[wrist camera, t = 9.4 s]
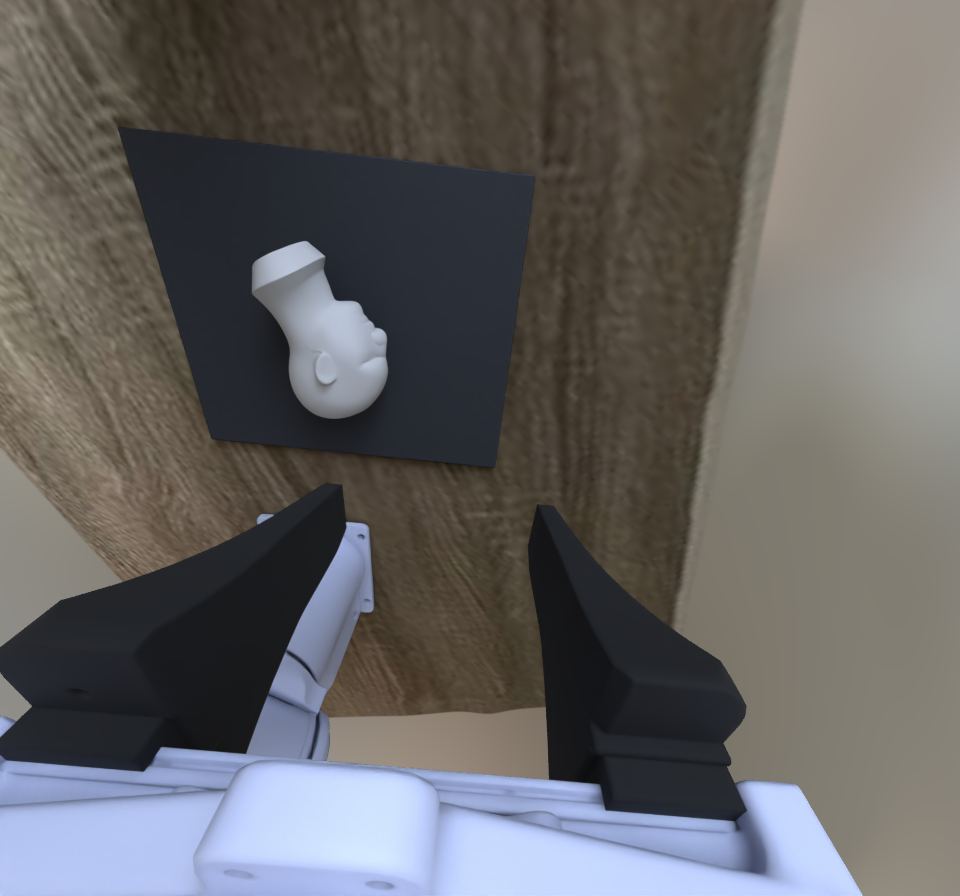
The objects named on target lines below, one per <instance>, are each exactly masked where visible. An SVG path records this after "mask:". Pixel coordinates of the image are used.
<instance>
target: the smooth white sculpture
mask: <svg viewBox="0 0 960 896" xmlns="http://www.w3.org/2000/svg"><path fill="white" fill-rule="evenodd" d="M325 258H326V257H325V256H324V255H323V254H322V253H321V252H319V251H318V250H317V249H316V248H315V247H313V246H312V245H311V244H310V243H309V242H307V241H303V242H298V243H295V244H292V245H289V246H286V247H284V248H281V249H279V250H276V251H274V252H271V253H269V254H267V255H265V256H263V257H261V258H260V259H258V260H257V261H255V262H254V264H253V266H252V294H253V295H254V296H255V297H256V298H257V299H258V300H259V301H260V302H261V303H262V304H263V305H264V306H265V307H266V308H267V309H268V310H269V311H270V312H271V313H272V315H273V316H274V317H275V319H276V320H277V322H278V323H279V325H280V326H281V328H282V330H283V332H284V334H285V336H286V338H287V340H288V343H289V347H290V359H289V377H290V382H291V385H292V388H293V391H294V393H295V395H296V396H297V398H298V400H299V401H300V402H301V403H302V404H303V406H304V407H306V408H307V409H308V410H309V411H310V412H312V413H314V414H316V415H318V416H320V417H324V418H330V419H339V418H345V417H349V416H352V415H355V414H357V413H360V412H362V411H364V410H365V409H367V408H368V407H369V406H370V405H371V404H372V403H373V402H374V401H375V400H376V399H377V398H378V396H379V395H380V393H381V392H382V390H383V388H384V386H385V383H386V380H387V376H388V365H387V360H386V347H387V336H386V333H385V332H384V331H383V330H382V329H379V328H375V327H374V324H373V323H372V322H371V321H369V320H368V318H367V317H366V316H365V315H364V313H363V310H362V307H361V306H360V304H359V303H357V302H355V301H336V300H335V299H334V297H333V294H332V291H331V289H330V286H329V283H328V281H327V278H326V276H325V273H324V264H325Z"/></svg>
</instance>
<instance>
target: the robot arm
mask: <svg viewBox="0 0 960 896" xmlns="http://www.w3.org/2000/svg"><path fill="white" fill-rule="evenodd" d="M257 524H258V525H256V526H254V527H253V528H251V529H249V530H247V531H245V532H244V533H242V534H240V535H238V536H236V537H234V538H232V539H230V540H228V541H226V542H224V543H222V544H219V545H217V546H215V547H213V548H211V549H209V550H206V551H204V552H202V553H199V554H197V555H194V556H192V557H190V558H187V559H185V560H182V561H180V562H178V563H175V564H173V565H170V566H167V567H165V568H162V569H159V570H157V571H154V572H151V573H148V574H145V575H142V576H139V577H137V578H134V579H131V580H128V581H125V582H121V583H119V584H115V585H112V586H109V587H105V588H102V589H98V590H95V591H92V592H88V593H85V594H81V595H78V596H75V597H71V598H67V599H64V600H60V601H59V602H58V603H57V604H55V605H54V606H53V607H51V608H50V609H49V610H48V611H46V612H45V613H44V614H42V615H41V616H40V617H39V618H37V619H36V620H35V621H33V622H32V623H31V624H30V625H28V626H27V627H26V628H24V629H23V630H22V631H21V632H19V633H18V634H17V635H15V636H14V637H13V638H12V639H11V640H9V641H8V642H6V643H5V644H4V645H3V646H1V647H0V673H1V674H2V675H3V677H4V678H5V679H6V680H7V681H8V682H9V683H10V684H11V685H12V686H13V687H14V688H15V689H16V690H17V691H18V692H19V693H20V694H21V695H22V696H23V697H24V698H25V699H26V700H27V701H28V702H29V703H30V704H31V705H32V707H31V708H30V709H29V710H28V711H27V712H26V713H25V714H24V715H23V716H22V717H21V718H20V719H19V720H18V721H17V722H16V721H15V720H13V719H10V718H7V717H4V716H0V896H863V895H862V893H861V892H860V890H859V888H858V887H857V885H856V883H855V881H854V880H853V878H852V876H851V875H850V873H849V872H848V870H847V868H846V866H845V865H844V863H843V861H842V859H841V858H840V856H839V854H838V853H837V851H836V849H835V848H834V846H833V844H832V843H831V841H830V839H829V837H828V836H827V834H826V832H825V830H824V829H823V827H822V825H821V824H820V822H819V820H818V819H817V817H816V815H815V813H814V812H813V810H812V809H811V807H810V805H809V804H808V802H807V800H806V798H805V797H804V795H803V793H802V792H801V790H800V788H799V787H798V786H796V785H795V784H792V783H781V782H769V781H757V780H744V781H740V782H737V783H734V781H733V779H732V777H731V775H730V773H729V771H728V768H727V766H730V765H731V758H730V756H729V754H728V752H727V750H726V748H725V746H724V744H723V743H724V741H725V740H726V739H727V738H728V737H729V736H730V735H731V734H732V733H733V732H734V731H735V730H736V728H737V727H738V726H739V725H740V724H741V722H742V721H743V719H744V717H745V714H746V704H745V702H744V700H743V698H742V696H741V695H740V693H739V691H738V689H737V687H736V686H735V684H734V682H733V680H732V679H731V677H730V675H729V674H728V672H727V670H726V669H725V667H724V666H723V664H722V663H721V661H720V660H718V659H717V658H715V657H714V656H712V655H711V654H709V653H708V652H706V651H704V650H703V649H701V648H700V647H698V646H697V645H695V644H694V643H692V642H691V641H689V640H688V639H686V638H685V637H683V636H682V635H680V634H679V633H677V632H676V631H675V630H673V629H672V628H671V627H669V626H668V625H666V624H665V623H664V622H662V621H661V620H660V619H658V618H657V617H656V616H655V615H653V614H652V613H651V612H649V611H648V610H647V609H646V608H645V607H643V606H642V605H641V604H640V603H639V602H638V601H636V600H635V599H634V598H633V597H632V596H631V595H629V594H628V593H627V592H626V591H625V590H624V589H623V588H622V587H621V586H620V585H619V584H618V583H617V582H616V581H615V580H613V579H612V578H611V577H610V576H609V575H608V574H607V573H606V572H605V570H604V569H603V568H602V567H601V566H600V565H599V564H598V563H597V562H596V561H595V559H594V558H593V557H592V556H591V555H590V554H589V553H588V551H587V550H586V549H585V548H584V546H583V545H582V544H581V542H580V541H579V540H578V539H577V537H576V536H575V535H574V533H573V532H572V531H571V529H570V528H569V527H568V525H567V524H566V522H565V521H564V520H563V518H562V517H561V515H560V514H559V513H558V511H557V510H556V508H555V507H554V506H549V505H539V504H537V508H536V512H535V517H534V521H533V526H532V530H531V535H530V539H529V544H528V556H529V572H530V578H531V584H532V590H533V595H534V601H535V607H536V612H537V618H538V623H539V629H540V636H541V645H542V657H543V670H544V685H545V700H546V719H547V737H548V763H549V780H543V779H532V778H520V777H507V776H497V775H485V774H473V773H461V772H450V771H437V770H425V769H414V768H403V767H391V766H379V765H367V764H356V763H343V762H332V761H327V757H328V752H329V745H330V734H329V719H328V716H327V714H326V713H325V712H323V711H320V707H321V705H322V702H323V700H324V697H325V694H326V693H327V692H328V690H329V689H330V687H331V686H332V684H333V682H334V680H335V678H336V675H337V673H338V670H339V667H340V665H341V662H342V659H343V657H344V654H345V651H346V649H347V646H348V644H349V641H350V638H351V636H352V633H353V630H354V628H355V625H356V623H357V620H358V617H359V615H360V612H372V611H373V609H374V593H373V578H372V564H371V549H370V535H369V527H368V526H367V525H365V524H362V523H353V522H346V517H345V508H344V499H343V490H342V485H338V484H328V483H325V484H323V485H321V486H320V487H318V488H316V489H315V490H313V491H312V492H310V493H309V494H307V495H305V496H304V497H302V498H301V499H299V500H298V501H296V502H294V503H293V504H291V505H290V506H288V507H287V508H285V509H283V510H282V511H280V512H279V513H277V514H275V515H271V514H261V515H260V516H259V517H258V518H257ZM360 534H362V535H364V536H361V535H360Z"/></svg>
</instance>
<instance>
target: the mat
mask: <svg viewBox="0 0 960 896" xmlns="http://www.w3.org/2000/svg"><path fill="white" fill-rule="evenodd" d="M118 130H119V134H120V137H121V140H122V144H123V147H124V150H125V153H126V157H127V160H128V163H129V167H130V170H131V173H132V177H133V180H134V183H135V187H136V190H137V193H138V197H139V200H140V203H141V206H142V210H143V213H144V216H145V220H146V223H147V226H148V230H149V233H150V236H151V240H152V243H153V246H154V250H155V253H156V256H157V259H158V263H159V266H160V269H161V273H162V276H163V279H164V283H165V286H166V289H167V293H168V296H169V299H170V303H171V306H172V309H173V312H174V316H175V319H176V322H177V326H178V329H179V332H180V336H181V339H182V342H183V346H184V349H185V352H186V356H187V359H188V362H189V365H190V369H191V372H192V375H193V379H194V382H195V385H196V389H197V392H198V395H199V399H200V402H201V405H202V409H203V412H204V415H205V418H206V422H207V425H208V428H209V432H210V435H211V438H212V439H217V440H227V441H236V442H246V443H256V444H266V445H276V446H286V447H295V448H305V449H315V450H325V451H335V452H345V453H354V454H364V455H374V456H384V457H394V458H404V459H413V460H423V461H433V462H443V463H453V464H463V465H472V466H482V467H492V468H494V467H495V462H496V455H497V448H498V441H499V434H500V427H501V420H502V413H503V405H504V398H505V391H506V384H507V377H508V370H509V363H510V355H511V348H512V341H513V334H514V327H515V320H516V313H517V305H518V298H519V291H520V284H521V277H522V270H523V263H524V255H525V248H526V241H527V234H528V227H529V220H530V213H531V205H532V198H533V191H534V184H535V176H534V175H525V174H517V173H508V172H500V171H491V170H483V169H474V168H466V167H457V166H449V165H440V164H432V163H423V162H415V161H406V160H398V159H389V158H381V157H372V156H364V155H355V154H347V153H338V152H330V151H321V150H313V149H304V148H296V147H288V146H279V145H271V144H262V143H254V142H245V141H237V140H228V139H220V138H211V137H203V136H194V135H186V134H177V133H169V132H160V131H152V130H143V129H135V128H126V127H118ZM303 241H307V242H309V243H310V244H311V245H312V246H313V247H315V248H316V249H317V250H318V251H319V252H321V253H322V254H323V255H324V256H325V257H326V258H325V264H324V273H325V276H326V278H327V281H328V283H329V286H330V289H331V291H332V294H333V297H334V299H335V300H336V301H355V302H357V303H359V304H360V306H361V307H362V310H363V313H364V315H365V316H366V317H367V318H368V320H369V321H371V322H372V323H373V324H374V327H375V328H379V329H382V330H383V331H384V332H385V333H386V336H387V347H386V360H387V365H388V376H387V380H386V383H385V386H384V388H383V390H382V392H381V393H380V395H379V396H378V398H377V399H376V400H375V401H374V402H373V403H372V404H371V405H370V406H369V407H368V408H367V409H365V410H364V411H362V412H360V413H357V414H355V415H352V416H349V417H345V418H339V419H330V418H324V417H320V416H318V415H316V414H314V413H312V412H310V411H309V410H308V409H307V408H306V407H304V406H303V404H302V403H301V402H300V401H299V400H298V398H297V396H296V395H295V393H294V391H293V388H292V385H291V382H290V377H289V359H290V347H289V343H288V340H287V338H286V336H285V334H284V332H283V330H282V328H281V326H280V325H279V323H278V322H277V320H276V319H275V317H274V316H273V315H272V313H271V312H270V311H269V310H268V309H267V308H266V307H265V306H264V305H263V304H262V303H261V302H260V301H259V300H258V299H257V298H256V297H255V296H254V295H253V294H252V266H253V264H254V262H255V261H257V260H258V259H260V258H261V257H263V256H265V255H267V254H269V253H271V252H274V251H276V250H279V249H281V248H284V247H286V246H289V245H292V244H295V243H298V242H303Z"/></svg>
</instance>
